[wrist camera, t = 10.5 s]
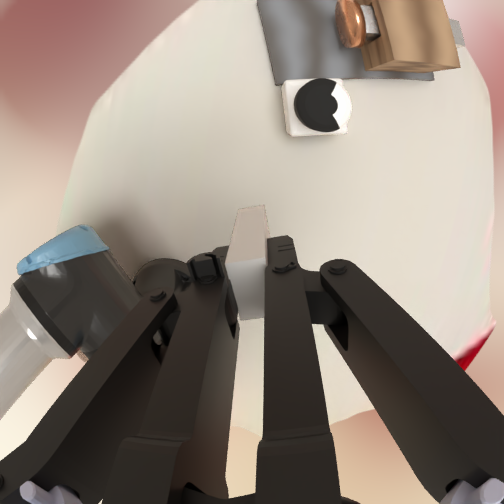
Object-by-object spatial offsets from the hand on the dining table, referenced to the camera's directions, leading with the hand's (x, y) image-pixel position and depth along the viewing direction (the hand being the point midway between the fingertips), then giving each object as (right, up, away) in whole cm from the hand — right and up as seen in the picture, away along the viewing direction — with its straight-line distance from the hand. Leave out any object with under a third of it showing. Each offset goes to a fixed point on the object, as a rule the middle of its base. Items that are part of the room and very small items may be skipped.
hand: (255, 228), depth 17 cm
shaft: (+20, +29, +10) cm, 37 cm away
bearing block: (+14, +30, +14) cm, 36 cm away
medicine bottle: (+8, +19, +20) cm, 29 cm away
